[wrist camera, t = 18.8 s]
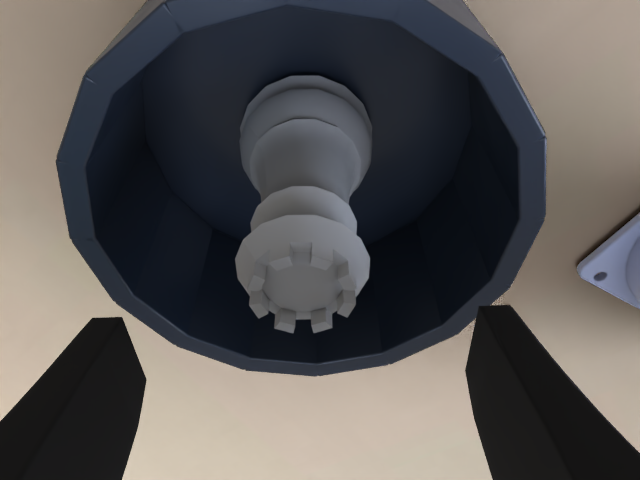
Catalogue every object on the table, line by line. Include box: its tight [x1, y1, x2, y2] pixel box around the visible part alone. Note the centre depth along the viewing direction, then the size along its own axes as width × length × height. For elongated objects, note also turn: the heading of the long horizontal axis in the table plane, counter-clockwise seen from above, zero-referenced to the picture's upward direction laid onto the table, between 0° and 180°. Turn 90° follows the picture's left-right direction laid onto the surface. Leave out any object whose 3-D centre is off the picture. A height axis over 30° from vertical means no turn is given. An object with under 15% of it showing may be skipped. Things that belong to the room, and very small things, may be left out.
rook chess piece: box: [235, 76, 372, 333], centre depth 15 cm, size 4×4×8 cm
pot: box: [56, 0, 547, 376], centre depth 17 cm, size 12×12×6 cm
